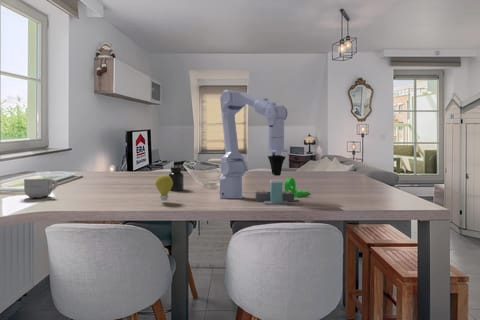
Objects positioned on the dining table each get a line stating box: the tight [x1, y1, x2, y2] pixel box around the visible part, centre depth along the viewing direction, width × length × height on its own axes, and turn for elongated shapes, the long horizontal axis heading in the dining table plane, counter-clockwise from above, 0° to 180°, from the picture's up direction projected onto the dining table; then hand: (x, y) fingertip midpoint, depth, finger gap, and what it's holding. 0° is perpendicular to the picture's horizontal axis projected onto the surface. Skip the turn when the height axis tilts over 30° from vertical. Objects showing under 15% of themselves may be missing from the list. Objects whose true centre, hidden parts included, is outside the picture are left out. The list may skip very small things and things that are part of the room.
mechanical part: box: [284, 177, 310, 198], centre depth 170 cm, size 12×6×8 cm, turn 142°
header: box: [254, 189, 295, 203], centre depth 154 cm, size 14×8×4 cm, turn 90°
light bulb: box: [155, 174, 173, 202], centre depth 154 cm, size 7×7×10 cm
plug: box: [269, 179, 284, 203], centre depth 145 cm, size 4×4×8 cm
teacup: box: [23, 178, 58, 198], centre depth 165 cm, size 14×11×8 cm
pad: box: [263, 201, 291, 206], centre depth 145 cm, size 9×8×1 cm
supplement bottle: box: [168, 166, 185, 192], centre depth 184 cm, size 7×7×12 cm
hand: (276, 175), depth 145 cm, fingers open, 7 cm apart
